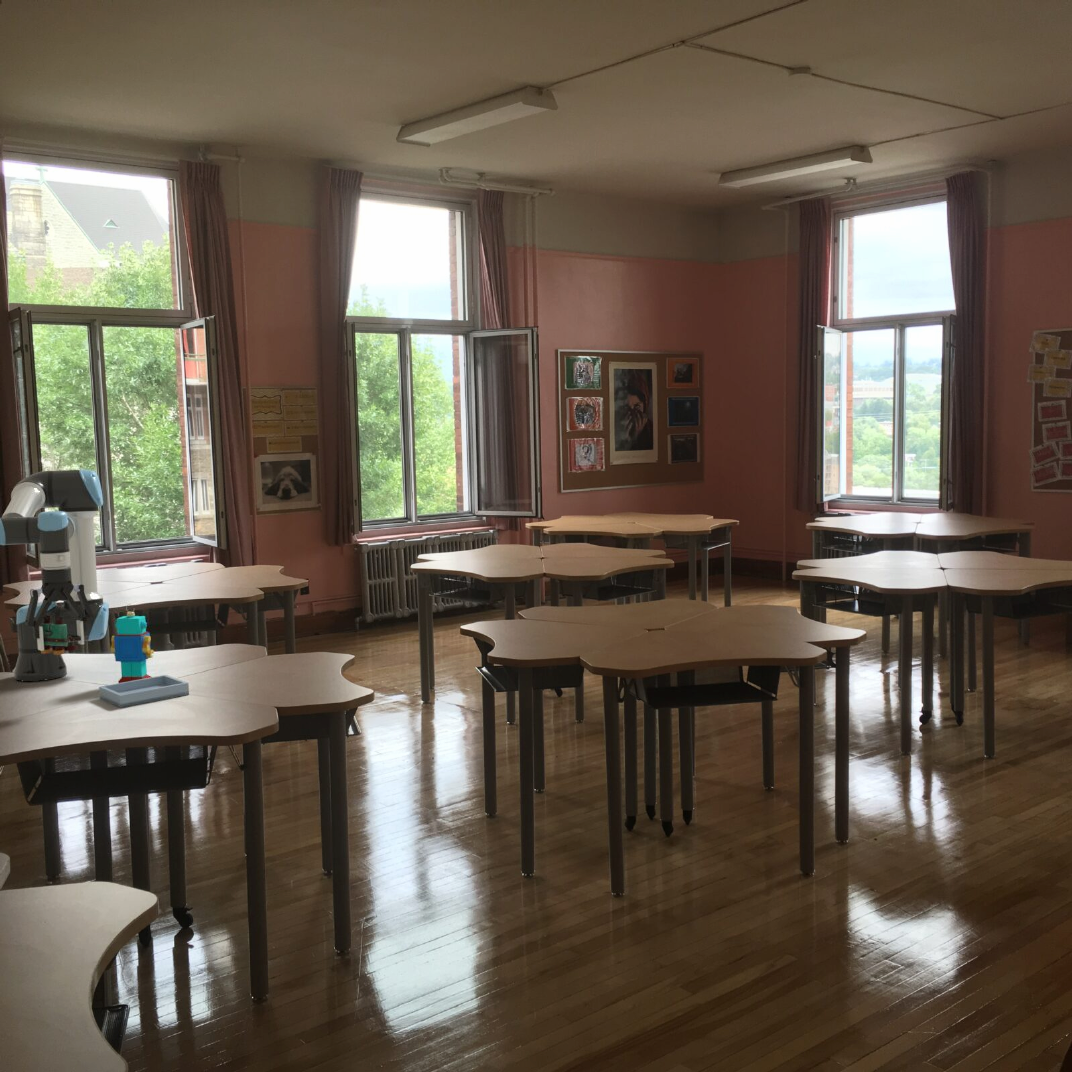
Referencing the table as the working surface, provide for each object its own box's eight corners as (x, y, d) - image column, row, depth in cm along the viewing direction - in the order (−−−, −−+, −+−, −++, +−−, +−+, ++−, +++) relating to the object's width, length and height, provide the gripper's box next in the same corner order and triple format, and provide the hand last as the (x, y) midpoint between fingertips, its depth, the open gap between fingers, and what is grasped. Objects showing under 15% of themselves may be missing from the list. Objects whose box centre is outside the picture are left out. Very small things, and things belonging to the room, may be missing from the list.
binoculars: (86, 614, 303) (58, 617, 294) (86, 652, 303) (58, 656, 294) (62, 612, 307) (33, 615, 297) (61, 649, 307) (33, 653, 297)
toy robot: (158, 682, 331) (153, 601, 328) (149, 687, 325) (144, 605, 322) (121, 682, 332) (116, 602, 329) (112, 687, 326) (107, 605, 323)
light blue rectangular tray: (99, 698, 312) (99, 686, 312) (166, 686, 326) (165, 674, 326) (120, 707, 302) (120, 695, 301) (189, 694, 315) (188, 682, 315)
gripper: (17, 573, 288) (22, 655, 290) (102, 564, 303) (107, 642, 306) (7, 570, 293) (13, 651, 296) (92, 562, 309) (97, 638, 311)
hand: (61, 646), depth 301 cm, fingers closed on binoculars, 10 cm apart
